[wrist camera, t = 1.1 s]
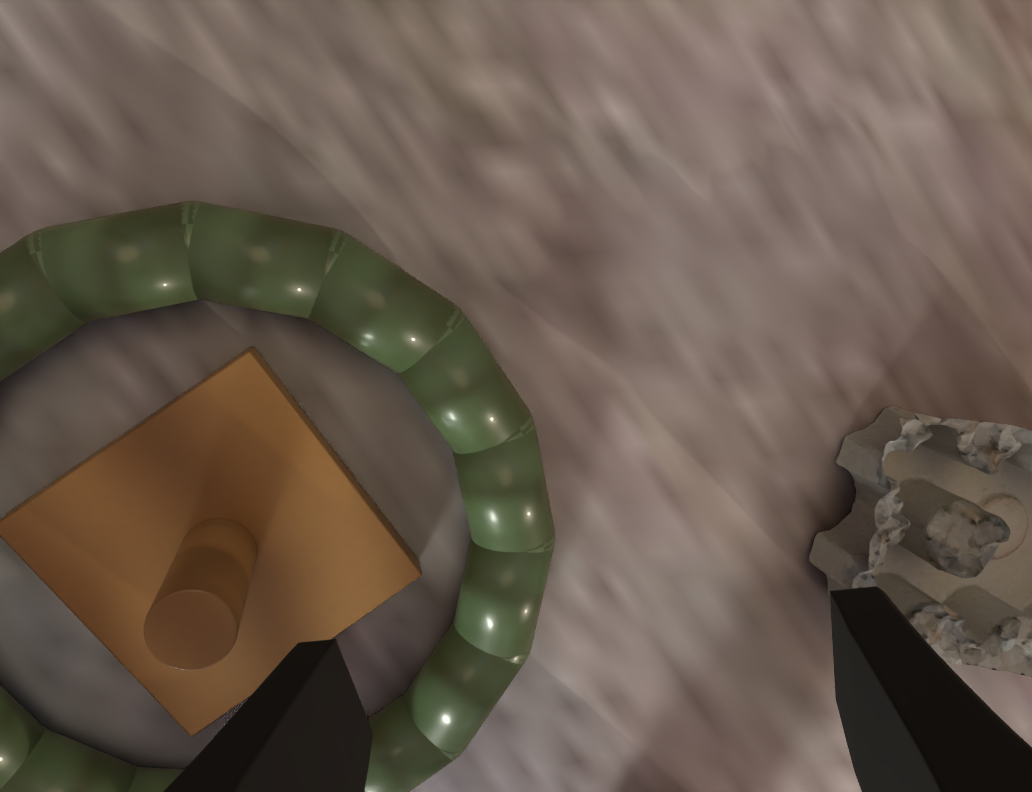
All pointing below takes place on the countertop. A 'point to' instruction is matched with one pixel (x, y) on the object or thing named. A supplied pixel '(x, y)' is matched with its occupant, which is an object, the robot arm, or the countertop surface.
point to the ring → (376, 332)
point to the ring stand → (212, 541)
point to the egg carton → (941, 532)
